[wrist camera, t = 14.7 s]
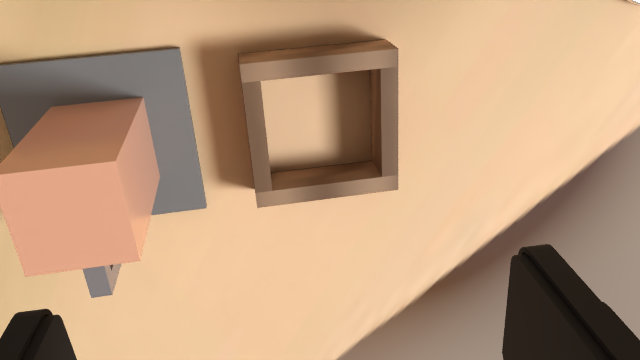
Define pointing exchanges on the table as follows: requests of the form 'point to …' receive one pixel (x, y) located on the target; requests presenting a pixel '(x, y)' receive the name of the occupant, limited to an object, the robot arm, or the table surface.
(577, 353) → the robot arm
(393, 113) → the frame
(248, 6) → the table surface
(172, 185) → the rubber mat
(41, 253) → the peach block with tab
